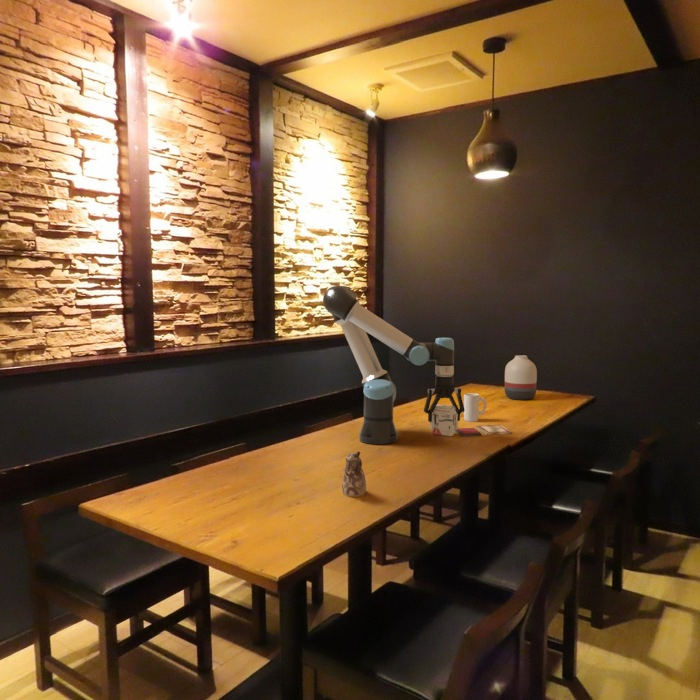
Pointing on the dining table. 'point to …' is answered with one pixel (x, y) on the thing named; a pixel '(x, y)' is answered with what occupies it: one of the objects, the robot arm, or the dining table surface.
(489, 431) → the board
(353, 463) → the figurine
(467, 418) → the mug
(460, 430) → the ink pad
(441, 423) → the ink box
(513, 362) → the vase
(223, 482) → the dining table surface
